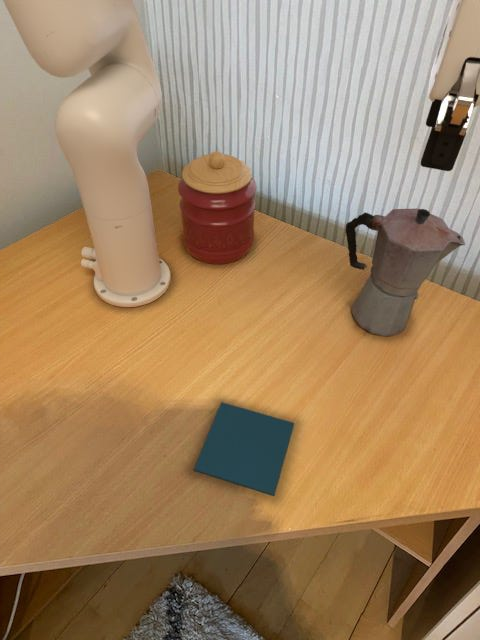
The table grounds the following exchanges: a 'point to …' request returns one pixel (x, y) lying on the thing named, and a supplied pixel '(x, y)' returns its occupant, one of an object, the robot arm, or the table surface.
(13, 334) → the table surface
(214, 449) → the cloth
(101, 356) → the table surface
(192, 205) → the kitchen canister
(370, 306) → the moka pot
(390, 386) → the table surface
